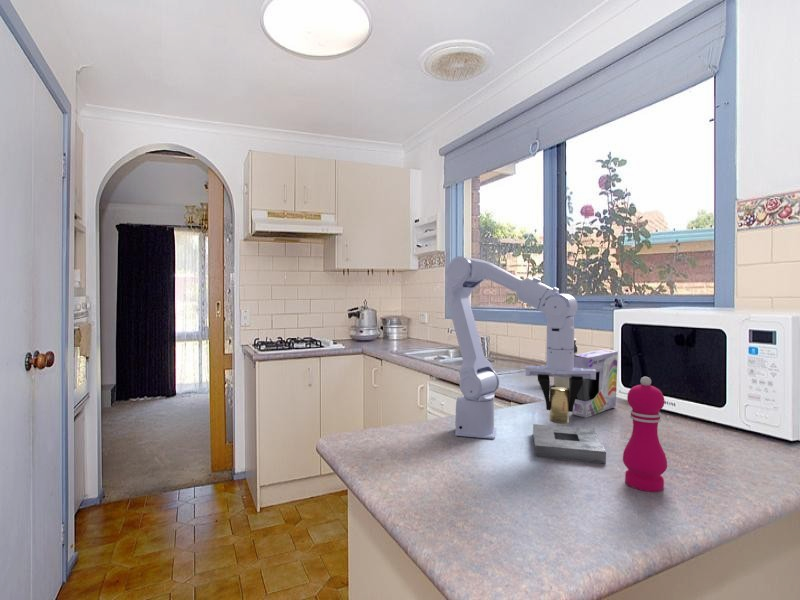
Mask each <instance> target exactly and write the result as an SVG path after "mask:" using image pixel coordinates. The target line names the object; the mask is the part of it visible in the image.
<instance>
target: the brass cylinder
mask: <svg viewBox="0 0 800 600" xmlns="http://www.w3.org/2000/svg"><path fill="white" fill-rule="evenodd" d="M549 398H550V410H549V421H550V422H551V423H554V424H557V425H558V424H561V425H562V424H563V425H565V424H569V422H570V412H569V389H567V388H562V387H555V386H553V387H550V391H549Z"/></svg>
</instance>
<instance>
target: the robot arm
mask: <svg viewBox="0 0 800 600" xmlns="http://www.w3.org/2000/svg"><path fill="white" fill-rule="evenodd" d="M445 275H446V277H447V281H446V287H445V288H446V290H445V297H446V302H447V304H448V308H449V312H450V316H451V320H452V323H453V327H454V332H455V335H456V339H457V343H458V347H459V352H460V355H461V359H462V363H461V366H460V368H459V370H458V374H459V378H460V380H459V389H460V390H459V391H460V392H461V394H462V395H463V396H457V397H456V403H455V434H454V435H455V436H457V437H458V436H459V437H466V438H467V437H469V438H478V439H479V438H480V439H490V440H493V439H496V434H497V433H496V432H497V427H495V393H496V391H497V390H498V389H499V386H500V378H499V375H498V373H496V371H495V370H494V367H493V365H492V362H491V361H489V360H488V359H487V358H486V356H485V353H484V350H483V347H482V341H481V338H480V335H479V331H478V327H477V325H476V319H475V317H474V313H473V310H472V307H471V302H470V298H469V297H470V295H471V293H472V292H473V290H474V289H476V288H477V286H479V285H480V284H481V283H482V282H483V281H484V280H488V281H491V282H494V283H496V284H498V285H499V286H502V287H504V288H506V289H509V290H510V291H513V292H515V295H516V297H517V299H518V300H519V301H521V302H523V303H524V304H526V305H528V306H530V307H532V308H534V309H535V310H538V311H539V312H542V313H543V315H544V316H545V318H546V350H545V351H546V352H545V354H546V357H545V358H546V361H545V364H546V365H537V366H536V365H525V377H531V376H533V377H537V382H538V383H539V386H540V388H541V391H542V393H543V396H544V400H545V407H546V411H550V388H551V387H550V383H551V381H550V377H553V378H554V377H568V378H569V413H570V412H571V413H572V412H573V406H574V402H575V399H576V397H577V394H578V392H579V390H580V388H581V387H582V385H583V378H587V379H594V380H596V370H595V369H584V368H574V338H575V316H576V315H577V313H578V310H579V302H578V300H577V299H576V298H575V297H574V296H573V295H571V294H570V293H569V292H563V293H560V289H559V288H558V287H550V286H549V285H546V284H545V283H542V282H541V281H542V280H541V278H539V277H526V278H524V279H522V278H520V277H518V276H517V275H514V274H513V273H511V272H510V271H507V270H505V269H504V268H502V267H500V266H498V265H496V264H494V263H492V262H490V261H486V260H483V259H482V258H479V257H478V258H477V257H475V258H471V257H466V256H465V257H464V256H460V255H459V256H456V257H454V258H452V259H451V260H450V261H449V264H448V265H447V267H446V269H445ZM565 374H569V375H565Z"/></svg>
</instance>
